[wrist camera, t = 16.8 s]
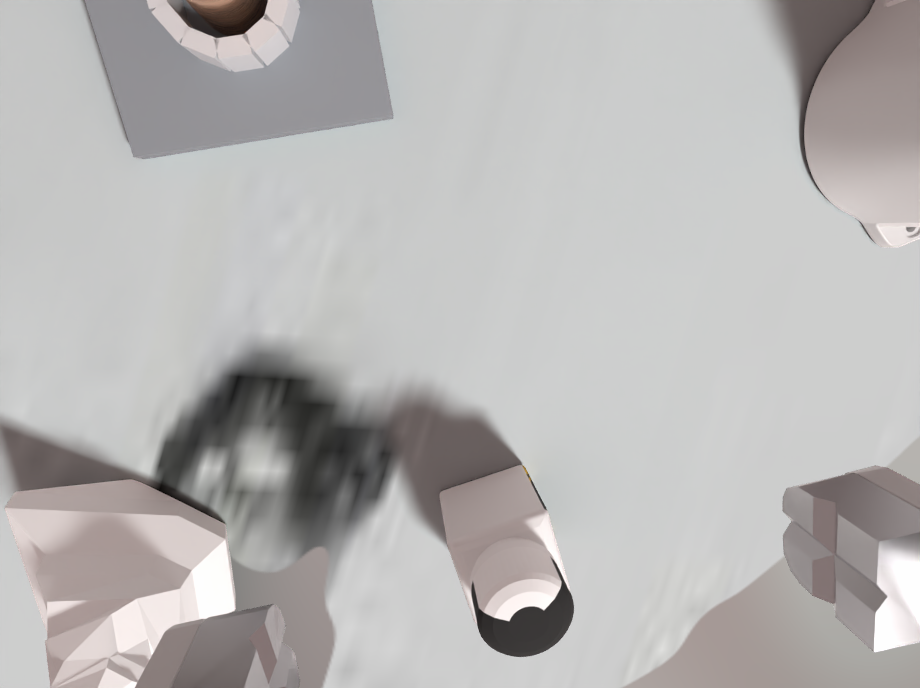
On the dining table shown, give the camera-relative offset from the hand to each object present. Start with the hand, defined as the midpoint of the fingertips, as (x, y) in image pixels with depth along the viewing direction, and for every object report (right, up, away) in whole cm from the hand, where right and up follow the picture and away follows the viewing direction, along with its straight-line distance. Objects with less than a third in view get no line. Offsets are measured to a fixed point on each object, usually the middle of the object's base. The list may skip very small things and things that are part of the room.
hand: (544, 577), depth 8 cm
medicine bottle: (+1, -10, +35) cm, 37 cm away
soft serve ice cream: (-25, -12, +33) cm, 43 cm away
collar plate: (-15, +24, +24) cm, 37 cm away
